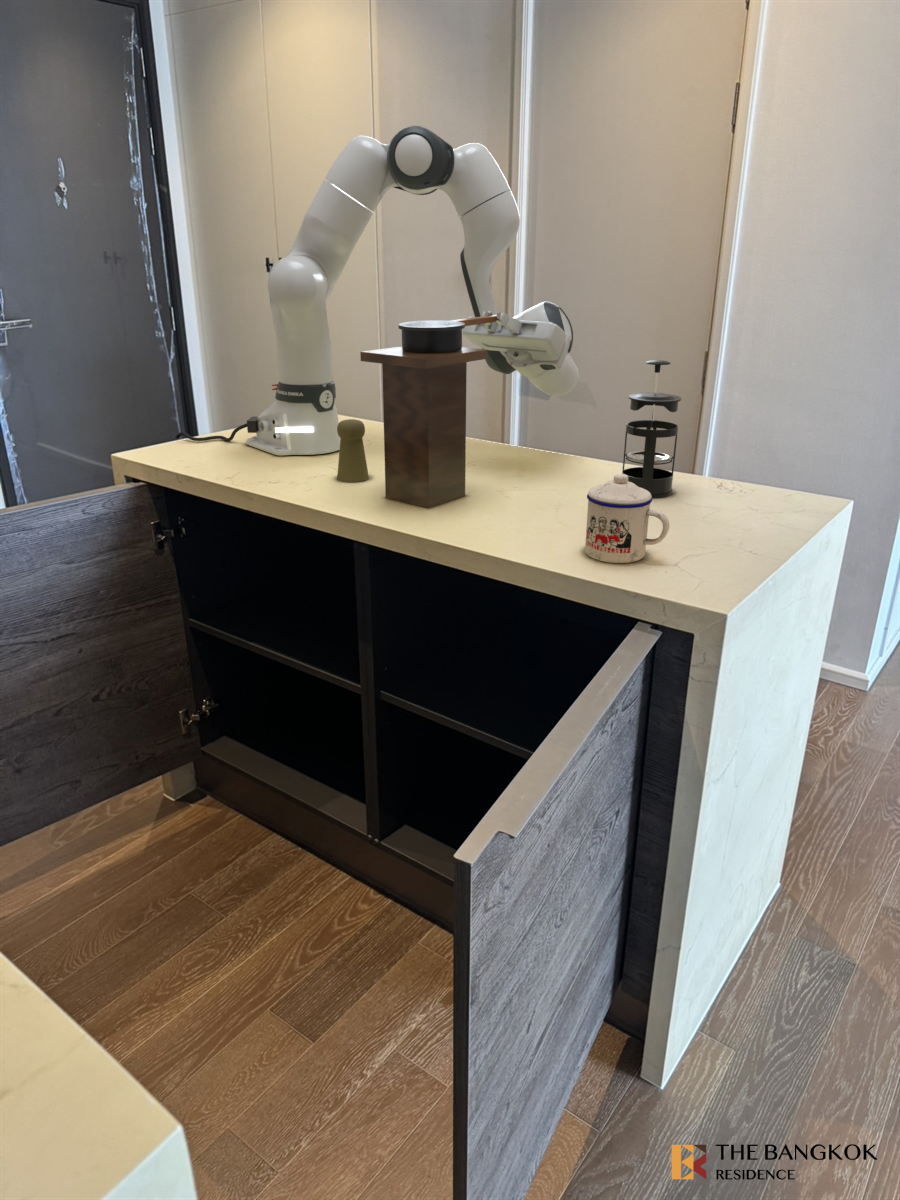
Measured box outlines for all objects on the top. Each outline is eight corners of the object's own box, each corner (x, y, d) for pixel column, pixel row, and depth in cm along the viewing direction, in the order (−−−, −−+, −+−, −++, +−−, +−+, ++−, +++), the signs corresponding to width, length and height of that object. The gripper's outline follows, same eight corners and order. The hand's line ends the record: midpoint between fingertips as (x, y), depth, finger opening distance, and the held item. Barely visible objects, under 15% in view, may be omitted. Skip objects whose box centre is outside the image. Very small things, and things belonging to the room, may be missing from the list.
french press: (673, 500, 151) (687, 365, 142) (618, 497, 152) (629, 363, 144) (671, 483, 161) (685, 356, 152) (620, 480, 163) (631, 355, 154)
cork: (367, 482, 161) (365, 423, 157) (335, 482, 161) (332, 423, 157) (370, 474, 167) (368, 417, 163) (339, 474, 167) (336, 417, 163)
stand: (365, 499, 151) (360, 351, 141) (424, 481, 162) (423, 343, 152) (426, 514, 142) (425, 358, 133) (484, 494, 154) (487, 349, 144)
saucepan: (385, 350, 143) (384, 324, 142) (476, 335, 161) (476, 312, 159) (436, 355, 137) (435, 329, 135) (525, 339, 155) (526, 316, 153)
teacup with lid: (573, 557, 124) (578, 477, 119) (597, 539, 131) (602, 464, 126) (654, 572, 118) (662, 490, 113) (674, 553, 125) (683, 475, 121)
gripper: (490, 330, 172) (452, 296, 160) (578, 337, 160) (544, 301, 148) (480, 360, 171) (441, 328, 160) (568, 369, 160) (533, 336, 148)
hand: (492, 315), depth 154 cm, fingers closed on saucepan, 2 cm apart
